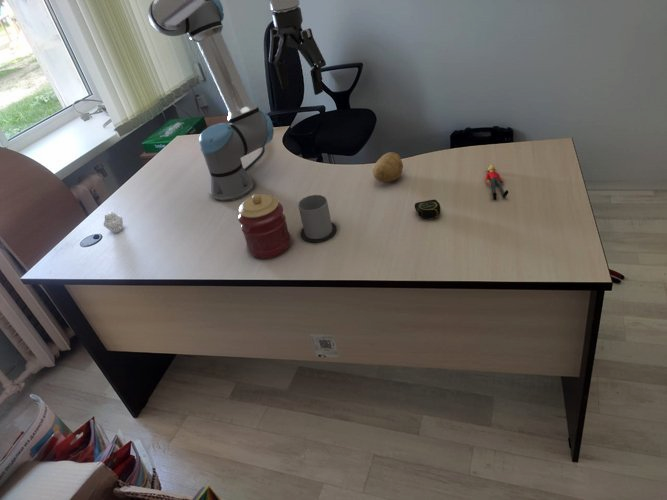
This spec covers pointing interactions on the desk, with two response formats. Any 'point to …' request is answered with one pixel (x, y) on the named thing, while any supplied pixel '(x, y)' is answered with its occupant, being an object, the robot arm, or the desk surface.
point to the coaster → (320, 238)
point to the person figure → (495, 181)
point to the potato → (388, 167)
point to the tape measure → (428, 209)
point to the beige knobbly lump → (113, 222)
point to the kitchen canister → (264, 226)
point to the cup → (315, 216)
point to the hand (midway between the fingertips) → (301, 90)
